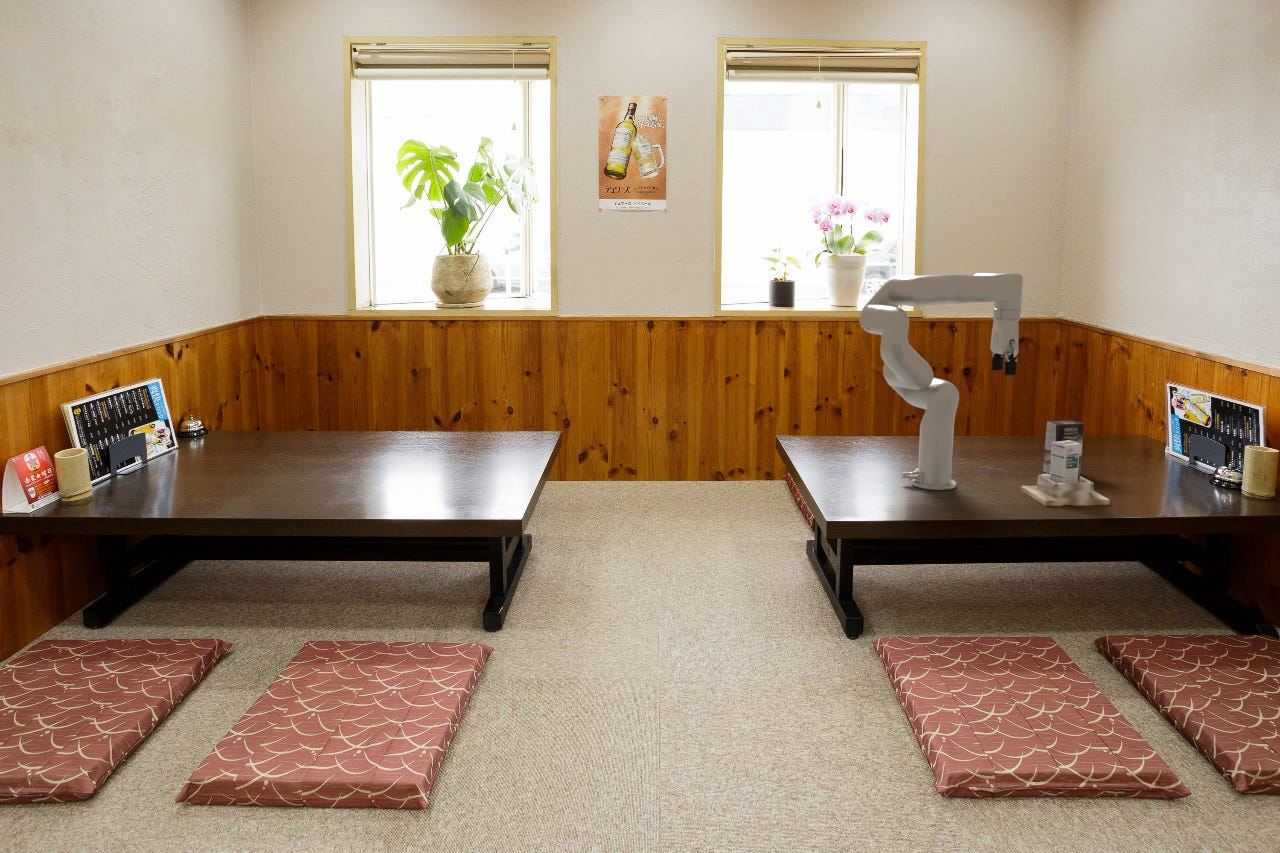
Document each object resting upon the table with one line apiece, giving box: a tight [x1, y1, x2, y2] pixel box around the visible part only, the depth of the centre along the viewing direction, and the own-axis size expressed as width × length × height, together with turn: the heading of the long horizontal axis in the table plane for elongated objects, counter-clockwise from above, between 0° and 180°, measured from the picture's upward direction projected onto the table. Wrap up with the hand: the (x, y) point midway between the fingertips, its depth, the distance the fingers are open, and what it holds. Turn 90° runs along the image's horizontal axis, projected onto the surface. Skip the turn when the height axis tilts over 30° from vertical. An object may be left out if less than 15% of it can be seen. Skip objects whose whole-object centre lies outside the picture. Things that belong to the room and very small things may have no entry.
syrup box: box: [1050, 440, 1083, 483], centre depth 290 cm, size 6×6×14 cm
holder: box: [1020, 473, 1110, 507], centre depth 291 cm, size 18×16×6 cm
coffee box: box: [1042, 419, 1085, 474], centre depth 318 cm, size 9×6×16 cm
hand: (1003, 372), depth 308 cm, fingers open, 9 cm apart
